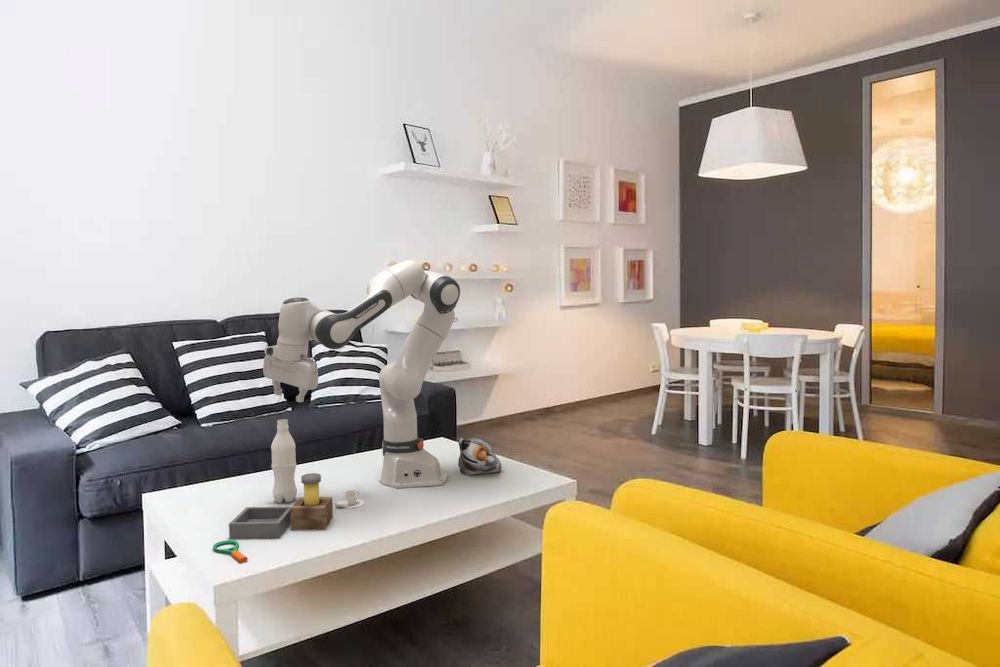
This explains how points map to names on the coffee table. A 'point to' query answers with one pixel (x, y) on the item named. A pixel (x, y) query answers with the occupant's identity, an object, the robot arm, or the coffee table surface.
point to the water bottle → (283, 463)
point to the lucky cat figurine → (477, 457)
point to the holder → (311, 514)
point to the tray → (260, 523)
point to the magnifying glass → (230, 550)
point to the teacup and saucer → (350, 500)
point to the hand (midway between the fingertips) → (288, 398)
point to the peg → (311, 489)
